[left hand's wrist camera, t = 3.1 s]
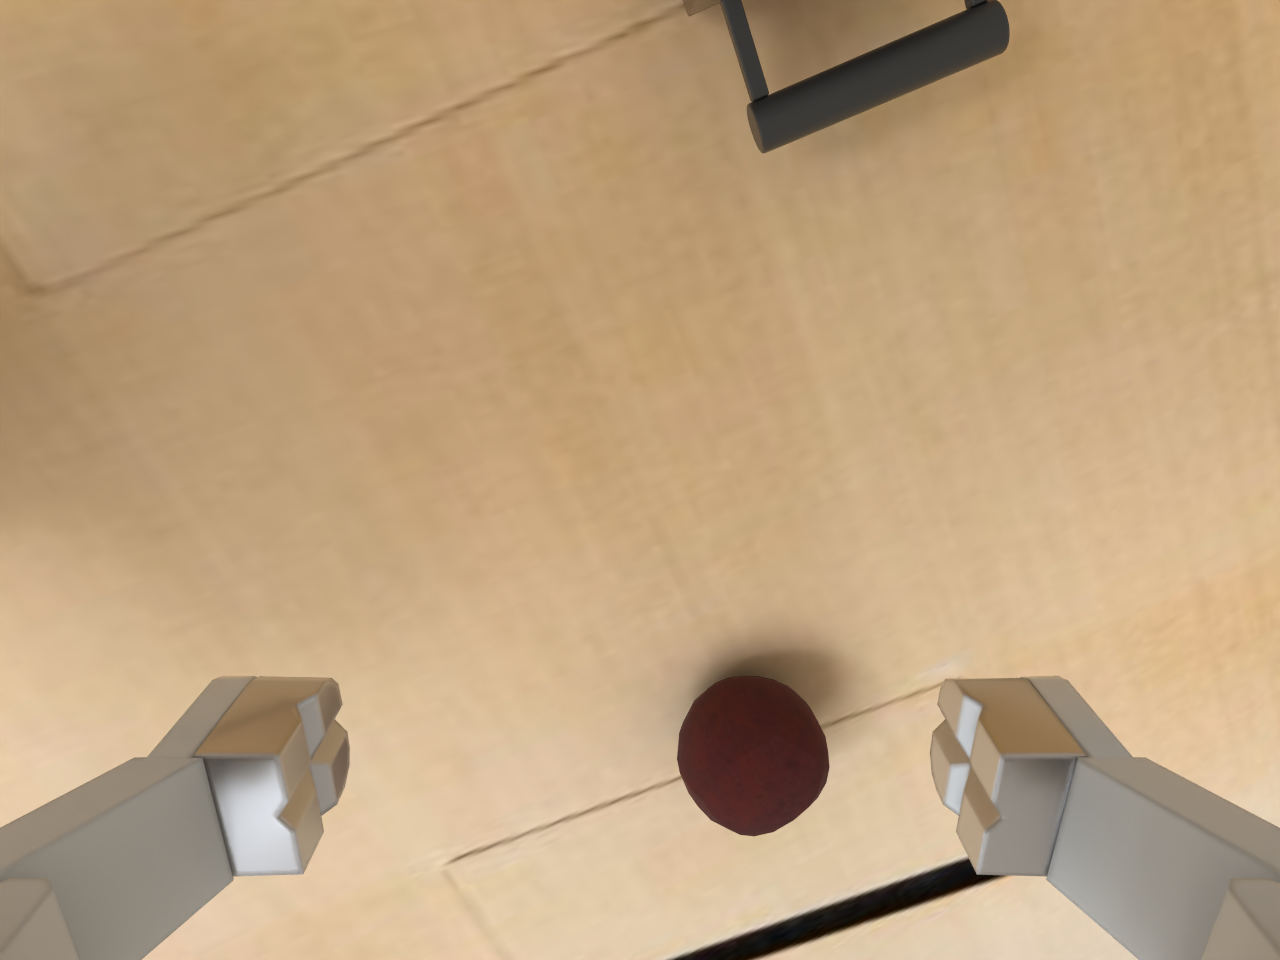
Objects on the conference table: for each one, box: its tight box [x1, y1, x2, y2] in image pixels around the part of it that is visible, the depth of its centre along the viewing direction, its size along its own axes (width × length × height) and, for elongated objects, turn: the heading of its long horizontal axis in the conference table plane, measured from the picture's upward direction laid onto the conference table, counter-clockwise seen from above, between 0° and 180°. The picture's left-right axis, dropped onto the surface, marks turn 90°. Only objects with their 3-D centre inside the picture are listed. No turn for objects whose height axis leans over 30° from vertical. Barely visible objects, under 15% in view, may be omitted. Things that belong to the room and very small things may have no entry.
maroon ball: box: [677, 676, 829, 836], centre depth 40 cm, size 7×8×7 cm
